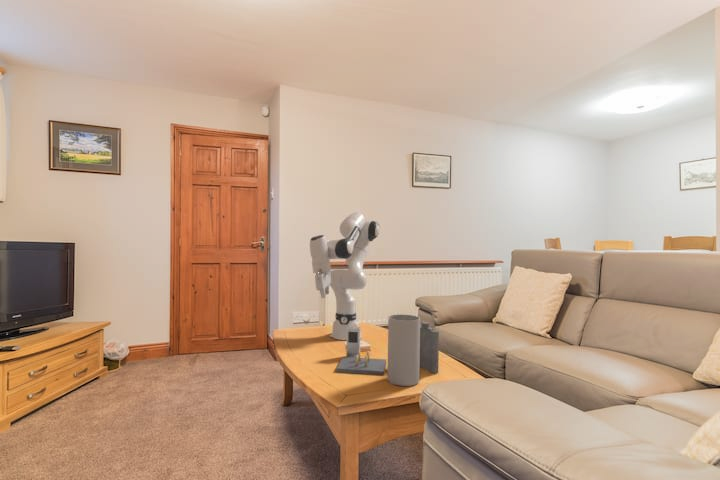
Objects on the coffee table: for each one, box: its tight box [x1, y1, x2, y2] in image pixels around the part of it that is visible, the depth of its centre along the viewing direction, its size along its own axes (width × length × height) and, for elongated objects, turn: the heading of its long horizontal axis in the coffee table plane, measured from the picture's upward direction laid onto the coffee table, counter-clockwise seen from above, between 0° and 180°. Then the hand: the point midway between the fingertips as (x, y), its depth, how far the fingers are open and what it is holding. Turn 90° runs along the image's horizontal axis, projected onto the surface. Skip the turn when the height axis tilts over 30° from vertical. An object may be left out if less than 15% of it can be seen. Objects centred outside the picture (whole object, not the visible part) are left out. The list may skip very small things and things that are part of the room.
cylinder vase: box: [387, 314, 421, 387], centre depth 143 cm, size 12×12×25 cm
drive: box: [345, 326, 361, 358], centre depth 172 cm, size 4×6×14 cm, turn 82°
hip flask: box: [419, 321, 440, 375], centre depth 159 cm, size 16×4×20 cm, turn 36°
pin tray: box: [335, 349, 387, 376], centre depth 158 cm, size 16×20×6 cm
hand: (325, 296), depth 179 cm, fingers open, 8 cm apart
